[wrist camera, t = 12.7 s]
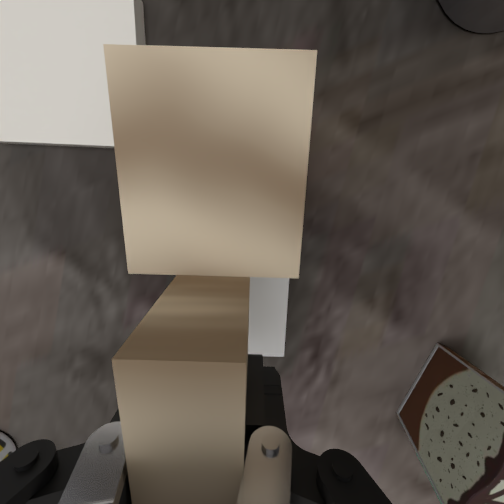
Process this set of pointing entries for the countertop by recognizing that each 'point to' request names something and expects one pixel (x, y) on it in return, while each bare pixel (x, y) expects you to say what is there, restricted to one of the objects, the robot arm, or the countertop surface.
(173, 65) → the turner
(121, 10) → the tile
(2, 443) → the supplement bottle
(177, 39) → the countertop surface
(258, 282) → the mat
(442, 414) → the food container
